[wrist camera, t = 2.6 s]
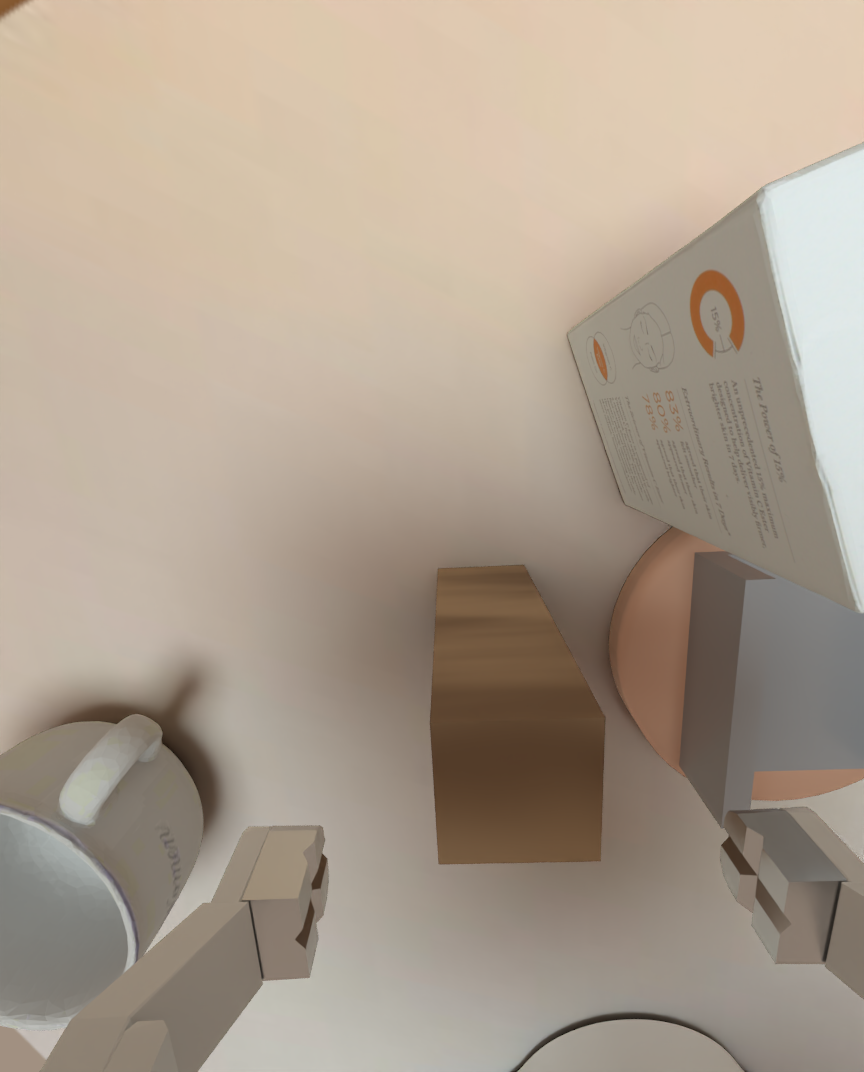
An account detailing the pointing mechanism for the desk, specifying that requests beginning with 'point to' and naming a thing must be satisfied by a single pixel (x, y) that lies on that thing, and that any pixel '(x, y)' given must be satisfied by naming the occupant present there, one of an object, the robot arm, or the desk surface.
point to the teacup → (87, 861)
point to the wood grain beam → (510, 727)
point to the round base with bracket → (739, 675)
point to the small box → (748, 381)
